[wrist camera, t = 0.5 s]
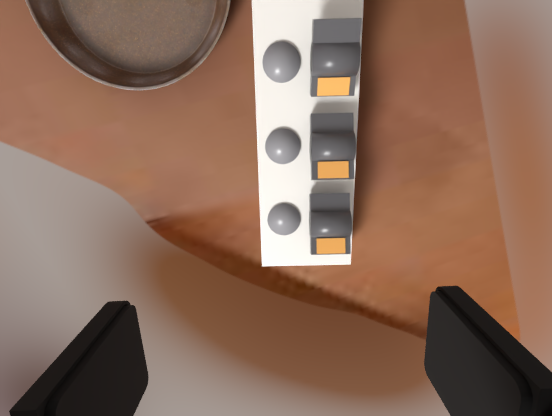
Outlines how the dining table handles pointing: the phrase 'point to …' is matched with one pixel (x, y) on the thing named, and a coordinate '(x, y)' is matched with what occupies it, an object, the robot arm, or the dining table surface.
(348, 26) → the switch
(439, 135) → the dining table surface
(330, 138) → the switch middle
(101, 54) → the plant saucer
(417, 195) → the dining table surface
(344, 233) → the switch
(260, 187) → the power strip
